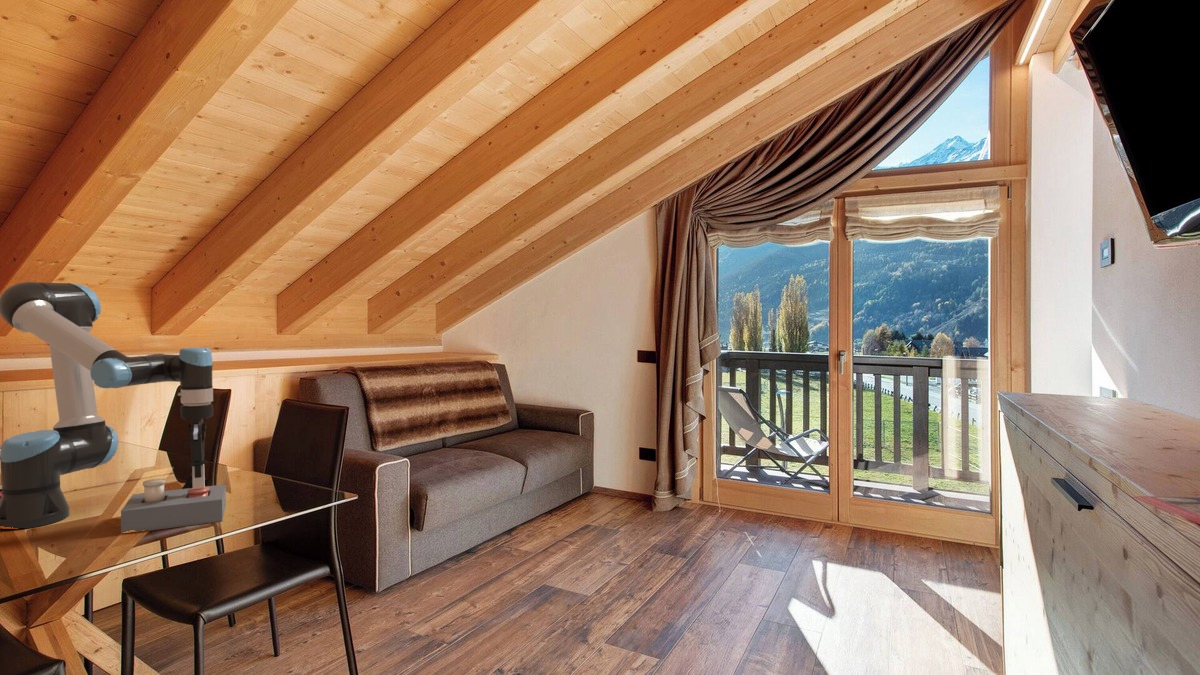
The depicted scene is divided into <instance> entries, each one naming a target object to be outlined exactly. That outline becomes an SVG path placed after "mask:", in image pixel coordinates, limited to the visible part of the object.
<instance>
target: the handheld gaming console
mask: <svg viewBox="0 0 1200 675" xmlns="http://www.w3.org/2000/svg"><path fill="white" fill-rule="evenodd" d="M211 482H212V481H211V480H210V479H206V478H205V486H210V484H211ZM188 488H193V482H192V475H190V476H189V477H188V479H187V481H185V483H184V485H183V486H182V488H181V489H188Z"/></svg>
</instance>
